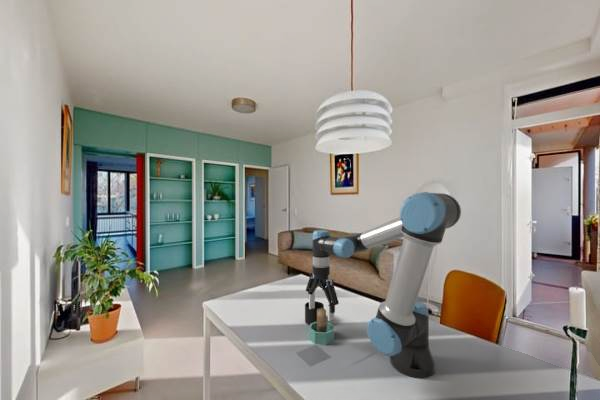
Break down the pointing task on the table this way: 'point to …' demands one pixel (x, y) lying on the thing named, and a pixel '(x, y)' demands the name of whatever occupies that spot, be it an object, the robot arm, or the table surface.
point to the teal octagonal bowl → (321, 334)
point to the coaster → (313, 355)
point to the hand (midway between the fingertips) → (321, 313)
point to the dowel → (321, 320)
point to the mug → (312, 312)
